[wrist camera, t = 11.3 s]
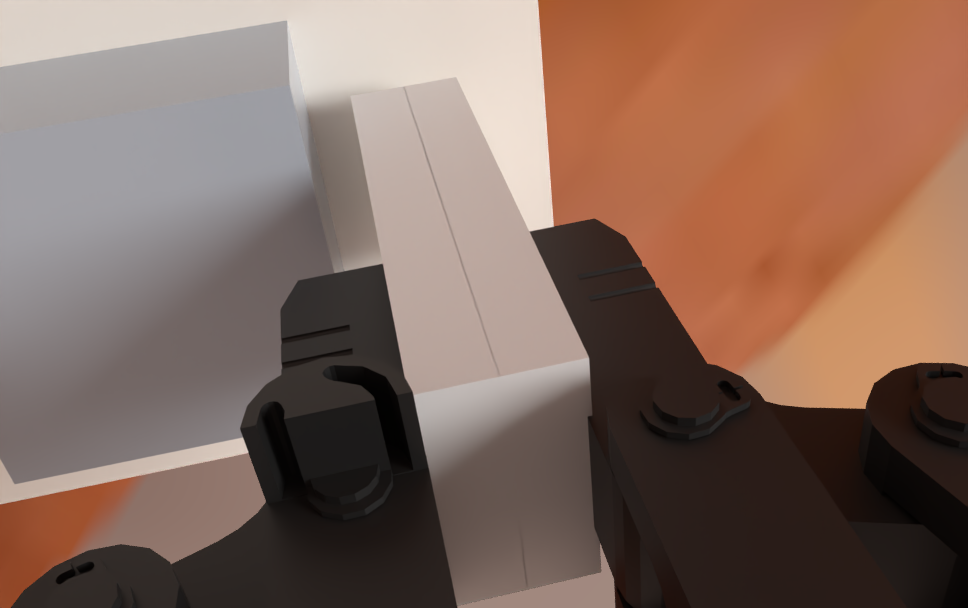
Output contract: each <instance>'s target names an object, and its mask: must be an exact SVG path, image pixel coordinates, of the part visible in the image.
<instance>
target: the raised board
mask: <svg viewBox="0 0 968 608" xmlns="http://www.w3.org/2000/svg"><path fill="white" fill-rule="evenodd" d="M280 21H287V22H288V26H289V31H290V35H291V39H292V44H293V48H294V52H295V57H296V61H297V65H298V70H299V74H300V78H301V83H302V87H303V92H304V96H305V100H306V105H307V109H308V113H309V118H310V122H311V126H312V131H313V135H314V139H315V144H316V148H317V153H318V157H319V161H320V166H321V170H322V174H323V179H324V183H325V187H326V192H327V196H328V200H329V205H330V209H331V214H332V218H333V222H334V227H335V231H336V235H337V240H338V244H339V248H340V253H341V257H342V261H343V266H344V270H345V271H348V270H353V269H358V268H363V267H368V266H373V265H378V264H383V262H382V257H381V252H380V247H379V241H378V236H377V231H376V226H375V221H374V215H373V210H372V205H371V200H370V195H369V190H368V184H367V179H366V174H365V169H364V164H363V159H362V153H361V148H360V143H359V138H358V133H357V127H356V122H355V117H354V112H353V107H352V102H351V96H353V95H359V94H364V93H370V92H375V91H381V90H387V89H392V88H398V87H403V86H409V85H414V84H420V83H425V82H431V81H437V80H442V79H448V78H453V77H456V78H457V80H458V82H459V84H460V86H461V88H462V90H463V93H464V95H465V97H466V99H467V101H468V103H469V105H470V107H471V109H472V112H473V114H474V116H475V118H476V120H477V122H478V124H479V126H480V128H481V131H482V133H483V135H484V137H485V139H486V141H487V143H488V145H489V147H490V150H491V152H492V154H493V156H494V158H495V160H496V162H497V164H498V166H499V169H500V171H501V173H502V175H503V177H504V179H505V181H506V183H507V185H508V188H509V190H510V192H511V194H512V196H513V198H514V200H515V202H516V204H517V207H518V209H519V211H520V213H521V215H522V217H523V219H524V221H525V223H526V226H527V228H528V230H529V231H534V230H539V229H545V228H550V227H554V225H553V211H552V197H551V182H550V168H549V154H548V139H547V125H546V111H545V96H544V82H543V68H542V53H541V39H540V25H539V10H538V0H0V67H3V66H10V65H16V64H22V63H28V62H34V61H40V60H47V59H53V58H59V57H65V56H71V55H77V54H83V53H90V52H96V51H102V50H108V49H114V48H120V47H127V46H133V45H139V44H145V43H151V42H157V41H164V40H170V39H176V38H182V37H188V36H194V35H200V34H207V33H213V32H219V31H225V30H231V29H237V28H244V27H250V26H256V25H262V24H268V23H274V22H280ZM245 453H249V452H248V450H247V447H246V444H245V441H244V439H243V438H238V439H233V440H229V441H224V442H219V443H214V444H209V445H204V446H199V447H194V448H190V449H185V450H180V451H175V452H170V453H165V454H160V455H155V456H151V457H146V458H141V459H136V460H131V461H126V462H121V463H116V464H112V465H107V466H102V467H97V468H92V469H87V470H82V471H77V472H73V473H68V474H63V475H58V476H53V477H48V478H43V479H38V480H34V481H29V482H24V483H19V484H14V482H13V481H12V479H11V477H10V475H9V474H8V472H7V470H6V468H5V467H4V465H3V463H2V461H1V460H0V504H4V503H9V502H14V501H19V500H23V499H28V498H33V497H38V496H43V495H48V494H52V493H57V492H62V491H67V490H72V489H77V488H81V487H86V486H91V485H96V484H101V483H106V482H110V481H115V480H120V479H125V478H130V477H135V476H139V475H144V474H149V473H154V472H159V471H164V470H168V469H173V468H178V467H183V466H188V465H193V464H197V463H202V462H207V461H212V460H216V459H222V458H226V457H231V456H236V455H241V454H245Z"/></svg>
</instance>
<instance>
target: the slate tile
mask: <svg viewBox="0 0 968 608" xmlns="http://www.w3.org/2000/svg"><path fill="white" fill-rule="evenodd" d="M343 271H345V270H344V266H343V261H342V257H341V253H340V248H339V244H338V240H337V235H336V231H335V227H334V222H333V218H332V214H331V209H330V205H329V200H328V196H327V192H326V187H325V183H324V179H323V174H322V170H321V166H320V161H319V157H318V153H317V148H316V144H315V139H314V135H313V131H312V126H311V122H310V118H309V113H308V109H307V105H306V100H305V96H304V92H303V87H302V83H301V78H300V74H299V70H298V65H297V61H296V57H295V52H294V48H293V44H292V39H291V35H290V31H289V26H288V22H287V21H280V22H274V23H268V24H262V25H256V26H250V27H244V28H237V29H231V30H225V31H219V32H213V33H207V34H200V35H194V36H188V37H182V38H176V39H170V40H164V41H157V42H151V43H145V44H139V45H133V46H127V47H120V48H114V49H108V50H102V51H96V52H90V53H83V54H77V55H71V56H65V57H59V58H53V59H47V60H40V61H34V62H28V63H22V64H16V65H10V66H3V67H0V460H1V461H2V463H3V465H4V467H5V468H6V470H7V472H8V474H9V475H10V477H11V479H12V481H13V482H14V484H19V483H24V482H29V481H34V480H38V479H43V478H48V477H53V476H58V475H63V474H68V473H73V472H77V471H82V470H87V469H92V468H97V467H102V466H107V465H112V464H116V463H121V462H126V461H131V460H136V459H141V458H146V457H151V456H155V455H160V454H165V453H170V452H175V451H180V450H185V449H190V448H194V447H199V446H204V445H209V444H214V443H219V442H224V441H229V440H233V439H238V438H243V436H242V433H241V430H240V426H241V423H242V420H243V417H244V414H245V411H246V408H247V405H248V404H249V403H250V402H251V401H252V399H253V398H254V397H255V396H256V395H257V394H258V393H259V392H260V390H261V389H262V388H263V387H264V386H265V385H266V384H267V383H269V382H270V381H272V380H274V379H275V378H277V377H278V376H280V375H281V369H282V364H281V344H282V341H281V317H280V309H281V307H282V306H283V304H284V302H285V301H286V299H287V298H288V296H289V294H290V293H291V291H292V289H293V288H294V286H295V285H296V283H297V281H298V280H303V279H308V278H313V277H318V276H323V275H328V274H333V273H338V272H343Z"/></svg>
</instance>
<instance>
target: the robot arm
mask: <svg viewBox="0 0 968 608" xmlns="http://www.w3.org/2000/svg"><path fill="white" fill-rule="evenodd" d="M351 102H352V107H353V112H354V117H355V122H356V127H357V133H358V138H359V143H360V148H361V153H362V159H363V164H364V169H365V174H366V179H367V184H368V190H369V195H370V200H371V205H372V210H373V215H374V221H375V226H376V231H377V236H378V241H379V247H380V252H381V257H382V262H383V264H378V265H373V266H368V267H363V268H358V269H353V270H348V271H343V272H338V273H333V274H328V275H323V276H318V277H313V278H308V279H303V280H298V281H297V283H296V285H295V286H294V288H293V289H292V291H291V293H290V294H289V296H288V298H287V299H286V301H285V302H284V304H283V306H282V307H281V309H280V317H281V341H282V344H281V364H282V369H281V375H280V376H278V377H277V378H275V379H274V380H272V381H270V382H269V383H267V384H266V385H265V386H264V387H263V388H262V389H261V390H260V392H259V393H258V394H257V395H256V396H255V397H254V398H253V399H252V401H251V402H250V403H249V404H248V405H247V408H246V411H245V414H244V417H243V420H242V423H241V426H240V430H241V433H242V436H243V439H244V441H245V444H246V447H247V450H248V452H249V455H250V458H251V461H252V464H253V466H254V469H255V472H256V474H257V477H258V480H259V483H260V486H261V488H262V491H263V494H264V496H265V499H266V503H265V504H264V505H263V507H262V508H261V509H260V510H259V512H258V513H257V514H256V515H254V516H253V517H252V518H251V519H250V520H249V521H247V522H246V523H245V524H244V525H243V526H242V527H240V528H239V529H238V530H236V531H234V532H233V533H231V534H229V535H228V536H226V537H224V538H223V539H221V540H220V541H218V542H216V543H214V544H212V545H210V546H208V547H206V548H204V549H202V550H200V551H198V552H196V553H194V554H192V555H190V556H187V557H185V558H183V559H181V560H179V561H177V562H175V563H173V564H170V562H169V561H167V560H166V559H164V558H163V557H161V556H160V555H158V554H157V553H156V552H154V551H152V550H151V549H150V548H143V547H137V546H129V545H122V544H120V545H115V546H110V547H105V548H99V549H94V550H89V551H86V552H84V553H82V554H80V555H78V556H75V557H73V558H71V559H69V560H67V561H65V562H63V563H61V564H59V565H56V566H54V567H53V568H52V569H50V570H49V571H48V572H47V573H45V574H44V575H43V576H42V577H40V578H39V579H38V580H37V581H35V582H34V583H33V584H32V585H30V586H29V587H28V588H27V589H25V590H24V591H23V593H22V594H21V595H20V596H19V598H18V599H17V600H16V602H15V603H14V604H13V606H12V607H11V608H457V606H459V605H464V604H467V603H472V602H476V601H480V600H485V599H489V598H493V597H498V596H502V595H506V594H510V593H515V592H519V591H523V590H527V589H532V588H536V587H540V586H544V585H549V584H553V583H557V582H561V581H566V580H570V579H574V578H578V577H583V576H587V575H591V574H595V573H600V572H601V559H600V543H601V545H602V549H603V551H604V554H605V557H606V559H607V562H608V564H609V567H610V569H611V572H612V575H613V577H614V586H615V608H968V367H967V366H962V365H958V364H954V363H918V364H914V365H910V366H906V367H902V368H899V369H895V370H892V371H891V372H890V373H888V374H887V375H885V376H884V377H883V378H881V379H880V380H879V381H877V382H876V383H874V385H873V388H872V390H871V393H870V395H869V398H868V400H867V403H866V409H844V408H804V407H794V406H783V405H778V404H773V403H770V402H766V401H765V400H764V399H763V398H762V396H761V395H760V393H758V392H757V391H756V390H755V389H754V388H753V387H752V386H751V385H750V384H749V383H748V382H747V381H746V380H745V379H744V378H743V377H741V376H739V375H737V374H734V373H732V372H730V371H728V370H726V369H724V368H721V367H719V366H717V365H711V364H707V362H706V361H705V359H704V358H703V356H702V355H701V353H700V352H699V350H698V348H697V347H696V345H695V344H694V342H693V341H692V339H691V338H690V336H689V334H688V333H687V331H686V330H685V328H684V327H683V325H682V324H681V322H680V321H679V319H678V317H677V316H676V314H675V313H674V311H673V310H672V308H671V307H670V305H669V303H668V302H667V300H666V299H665V297H664V296H663V294H662V293H661V291H660V289H659V288H656V286H655V282H654V280H653V279H652V277H651V275H650V274H649V272H648V271H647V269H646V268H645V267H643V266H642V262H641V260H640V258H639V257H638V255H637V254H636V252H635V251H634V249H633V248H632V246H631V244H630V243H629V241H628V240H627V238H626V237H625V236H623V235H622V234H620V233H618V232H617V231H615V230H613V229H612V228H610V227H608V226H606V225H605V224H603V223H601V222H600V221H598V220H596V219H590V220H585V221H580V222H575V223H570V224H565V225H560V226H555V227H550V228H545V229H539V230H534V231H529V230H528V228H527V226H526V223H525V221H524V219H523V217H522V215H521V213H520V211H519V209H518V207H517V204H516V202H515V200H514V198H513V196H512V194H511V192H510V190H509V188H508V185H507V183H506V181H505V179H504V177H503V175H502V173H501V171H500V169H499V166H498V164H497V162H496V160H495V158H494V156H493V154H492V152H491V150H490V147H489V145H488V143H487V141H486V139H485V137H484V135H483V133H482V131H481V128H480V126H479V124H478V122H477V120H476V118H475V116H474V114H473V112H472V109H471V107H470V105H469V103H468V101H467V99H466V97H465V95H464V93H463V90H462V88H461V86H460V84H459V82H458V80H457V78H456V77H453V78H448V79H442V80H437V81H431V82H425V83H420V84H414V85H409V86H403V87H398V88H392V89H387V90H381V91H375V92H370V93H364V94H359V95H353V96H351Z"/></svg>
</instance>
